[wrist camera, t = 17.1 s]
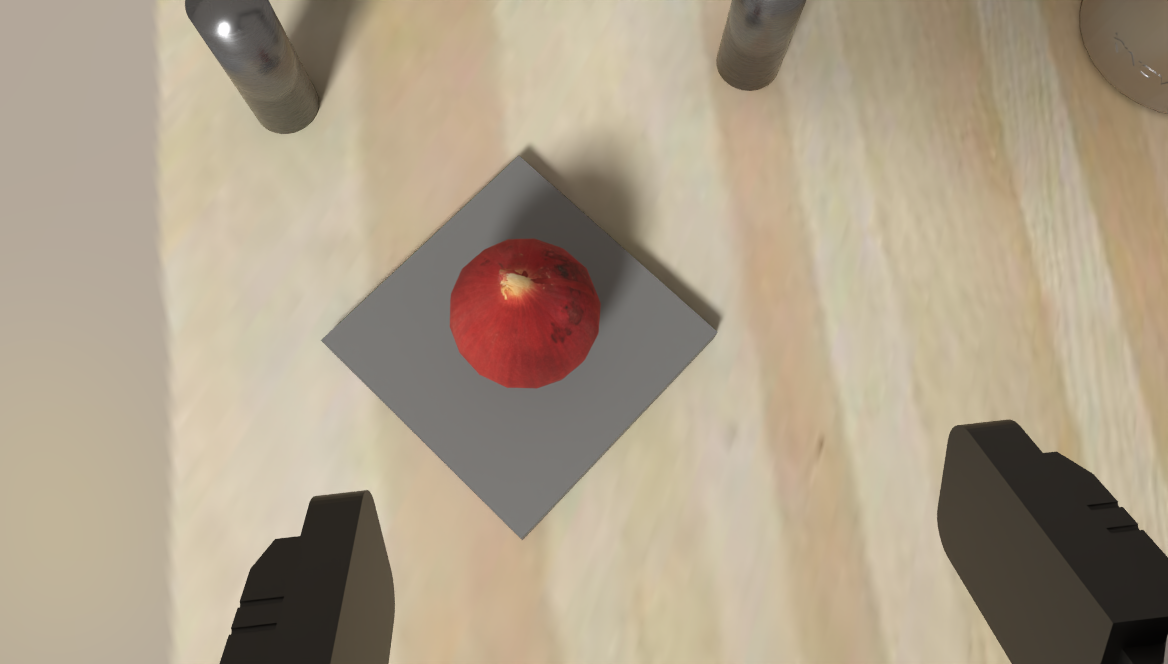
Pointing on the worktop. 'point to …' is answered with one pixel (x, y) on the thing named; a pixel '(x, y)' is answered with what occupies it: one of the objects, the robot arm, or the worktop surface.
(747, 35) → the spacer field
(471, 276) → the onion
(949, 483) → the robot arm
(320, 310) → the worktop surface
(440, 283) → the mat
